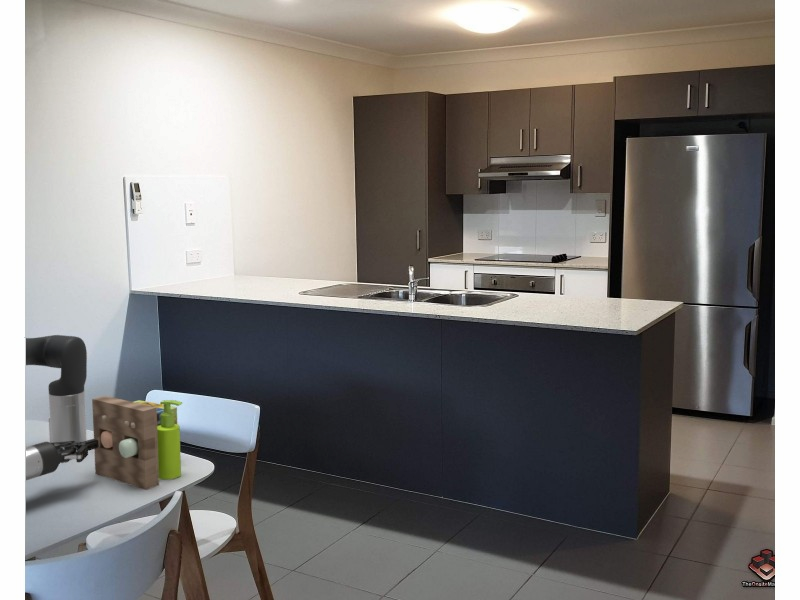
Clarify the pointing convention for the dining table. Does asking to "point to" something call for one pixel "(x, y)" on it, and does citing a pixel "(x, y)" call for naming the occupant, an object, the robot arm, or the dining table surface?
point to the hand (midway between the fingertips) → (96, 443)
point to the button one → (107, 439)
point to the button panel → (125, 424)
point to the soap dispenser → (169, 443)
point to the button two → (128, 447)
